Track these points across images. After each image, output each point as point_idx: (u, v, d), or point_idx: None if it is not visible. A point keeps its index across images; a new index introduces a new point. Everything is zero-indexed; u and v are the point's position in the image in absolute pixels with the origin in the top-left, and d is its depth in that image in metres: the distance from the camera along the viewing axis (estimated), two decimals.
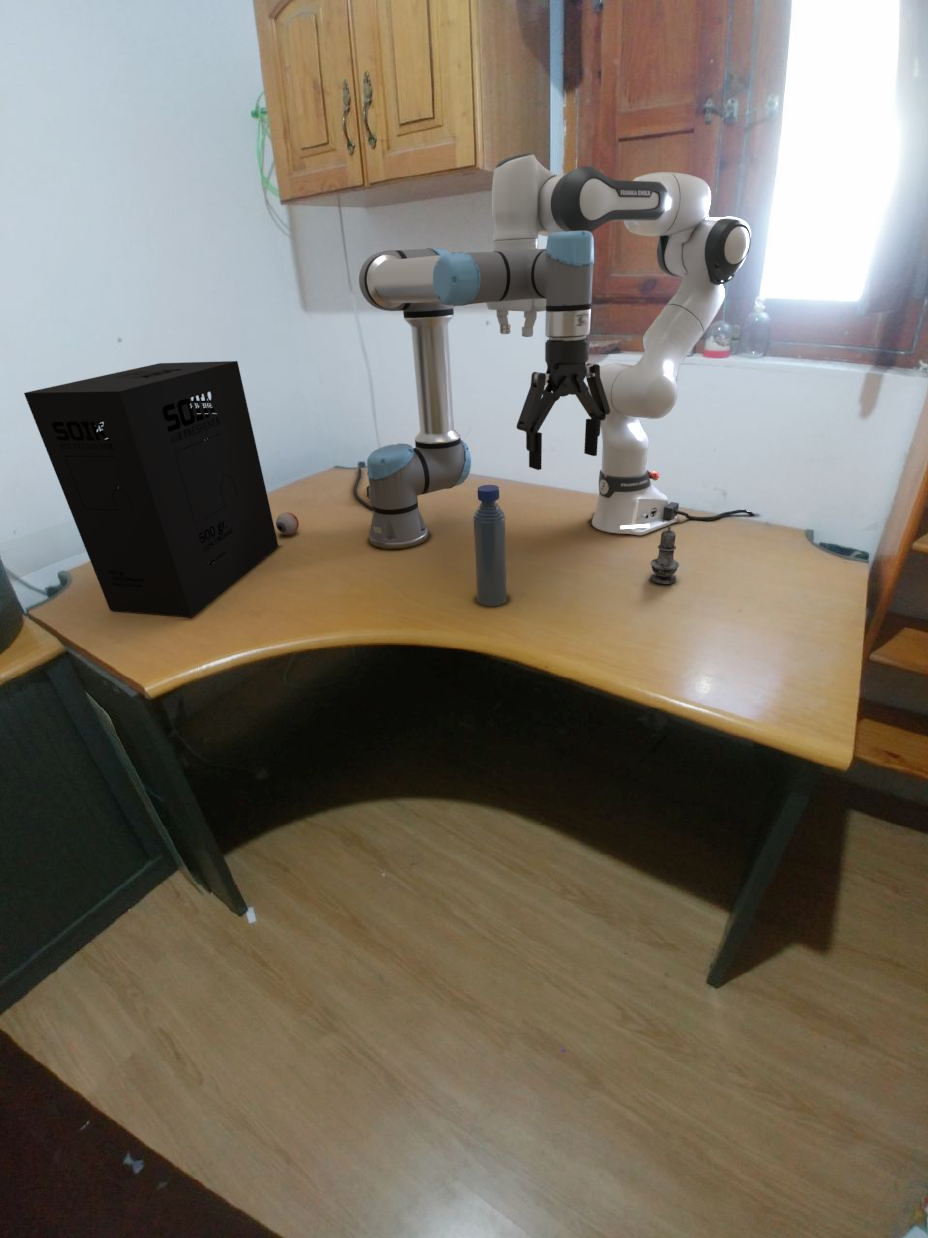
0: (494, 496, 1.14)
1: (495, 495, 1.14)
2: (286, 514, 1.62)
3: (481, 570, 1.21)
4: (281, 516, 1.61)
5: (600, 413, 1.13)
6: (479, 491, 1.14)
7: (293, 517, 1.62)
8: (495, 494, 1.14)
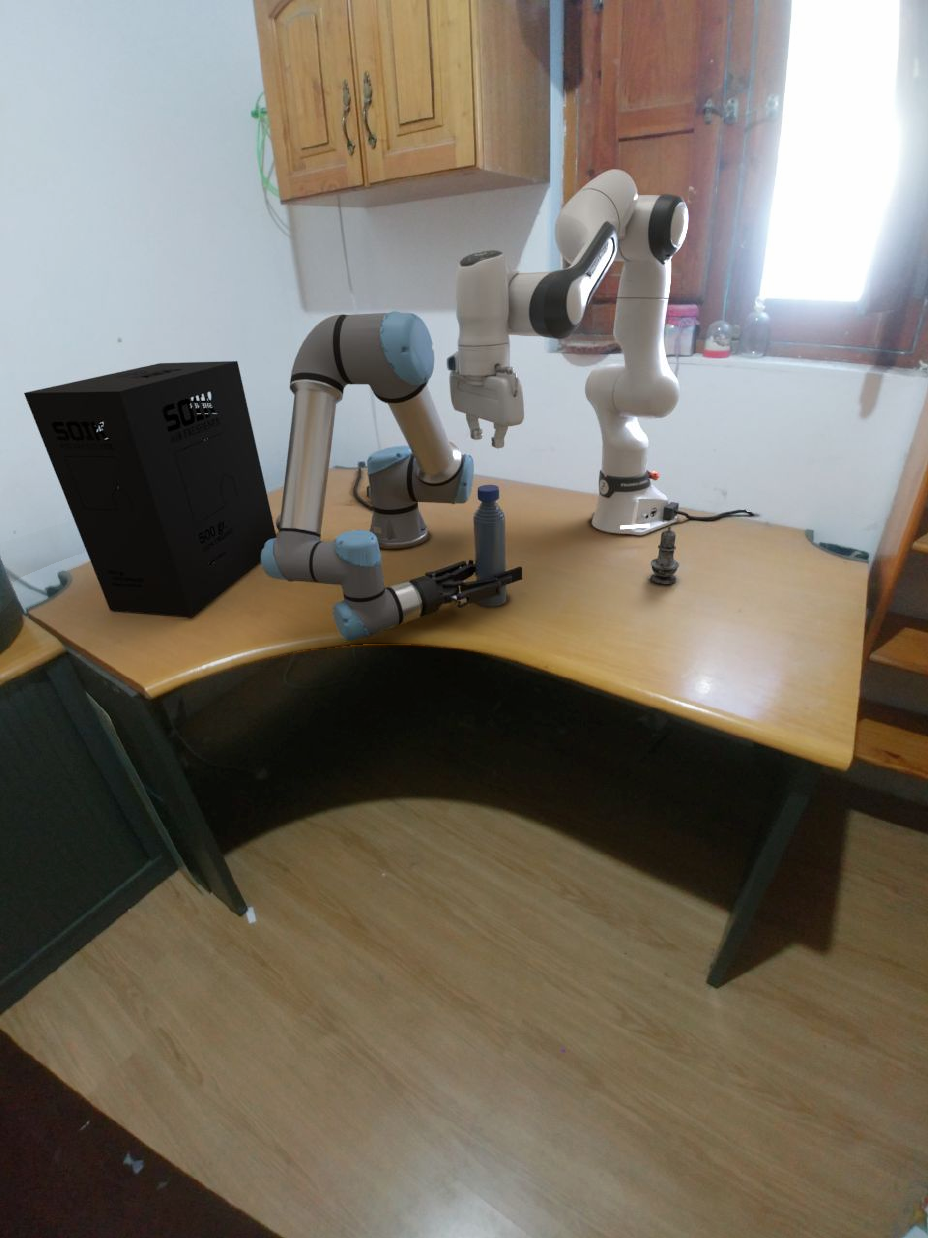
0: (494, 496, 1.14)
1: (495, 495, 1.14)
2: None
3: (481, 570, 1.21)
4: None
5: None
6: (479, 491, 1.14)
7: None
8: (495, 494, 1.14)
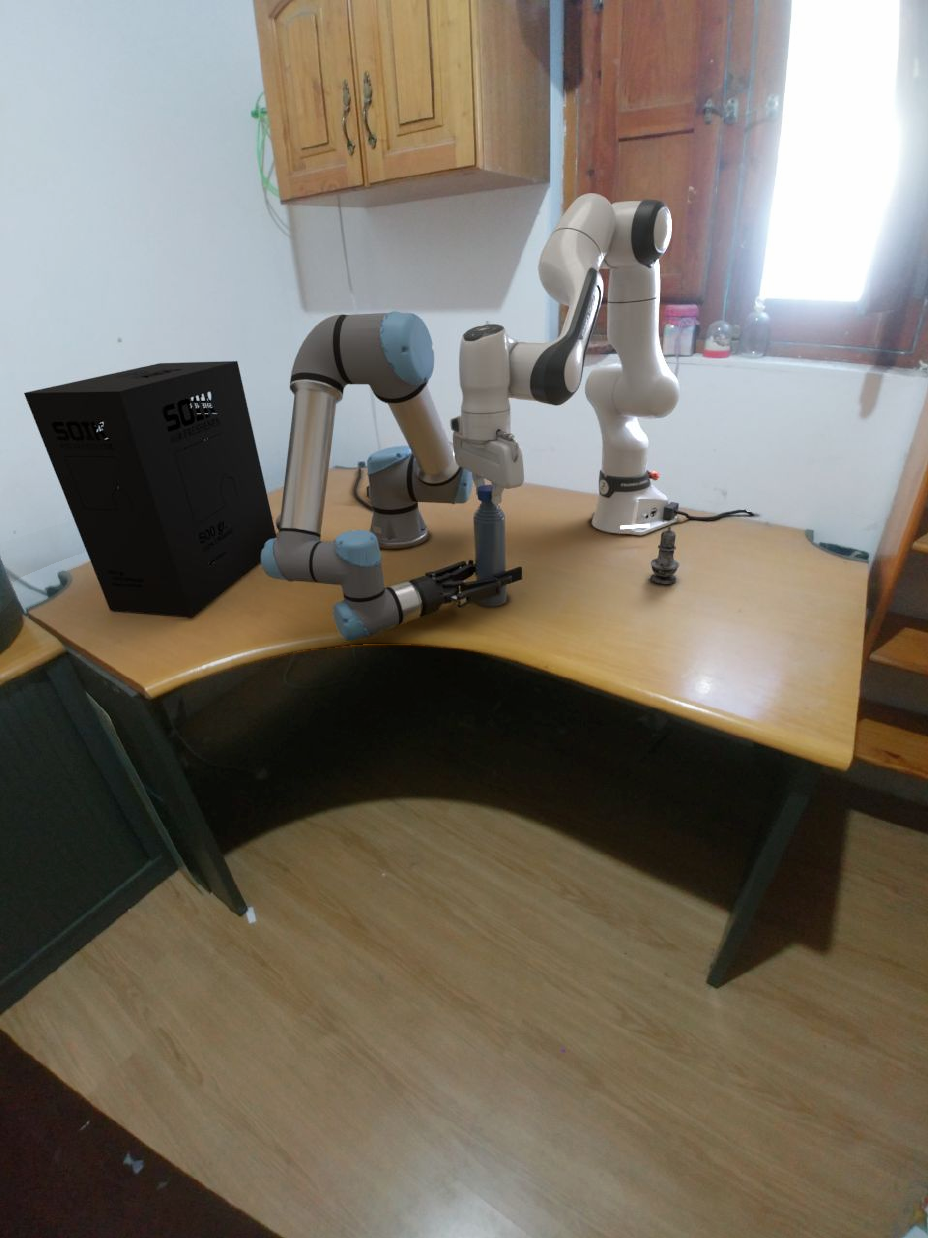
0: None
1: None
2: None
3: (481, 570, 1.21)
4: None
5: None
6: (479, 491, 1.14)
7: None
8: None
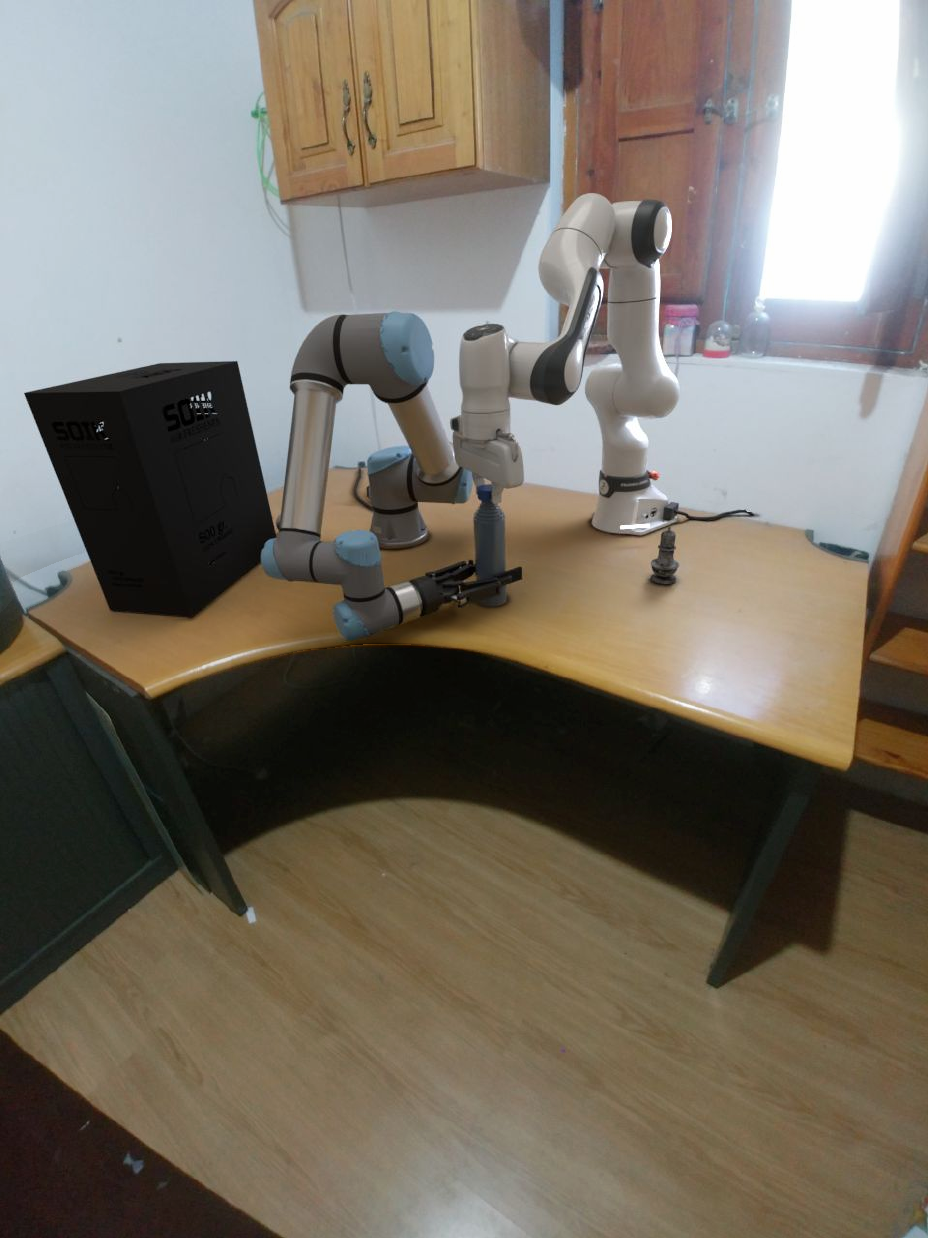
0: None
1: None
2: None
3: (481, 570, 1.21)
4: None
5: None
6: None
7: None
8: None
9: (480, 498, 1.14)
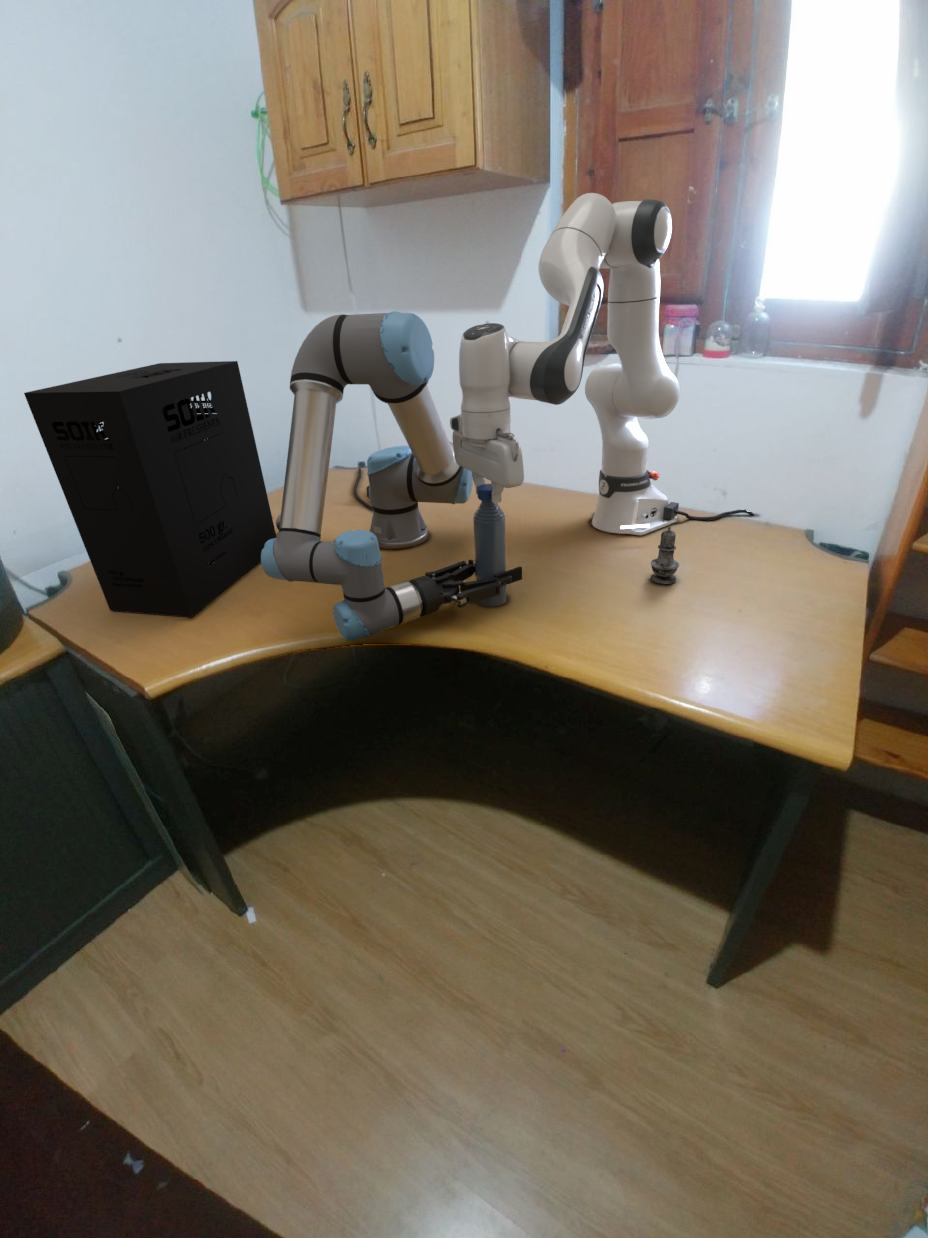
0: None
1: None
2: None
3: (481, 570, 1.21)
4: None
5: None
6: None
7: None
8: None
9: None
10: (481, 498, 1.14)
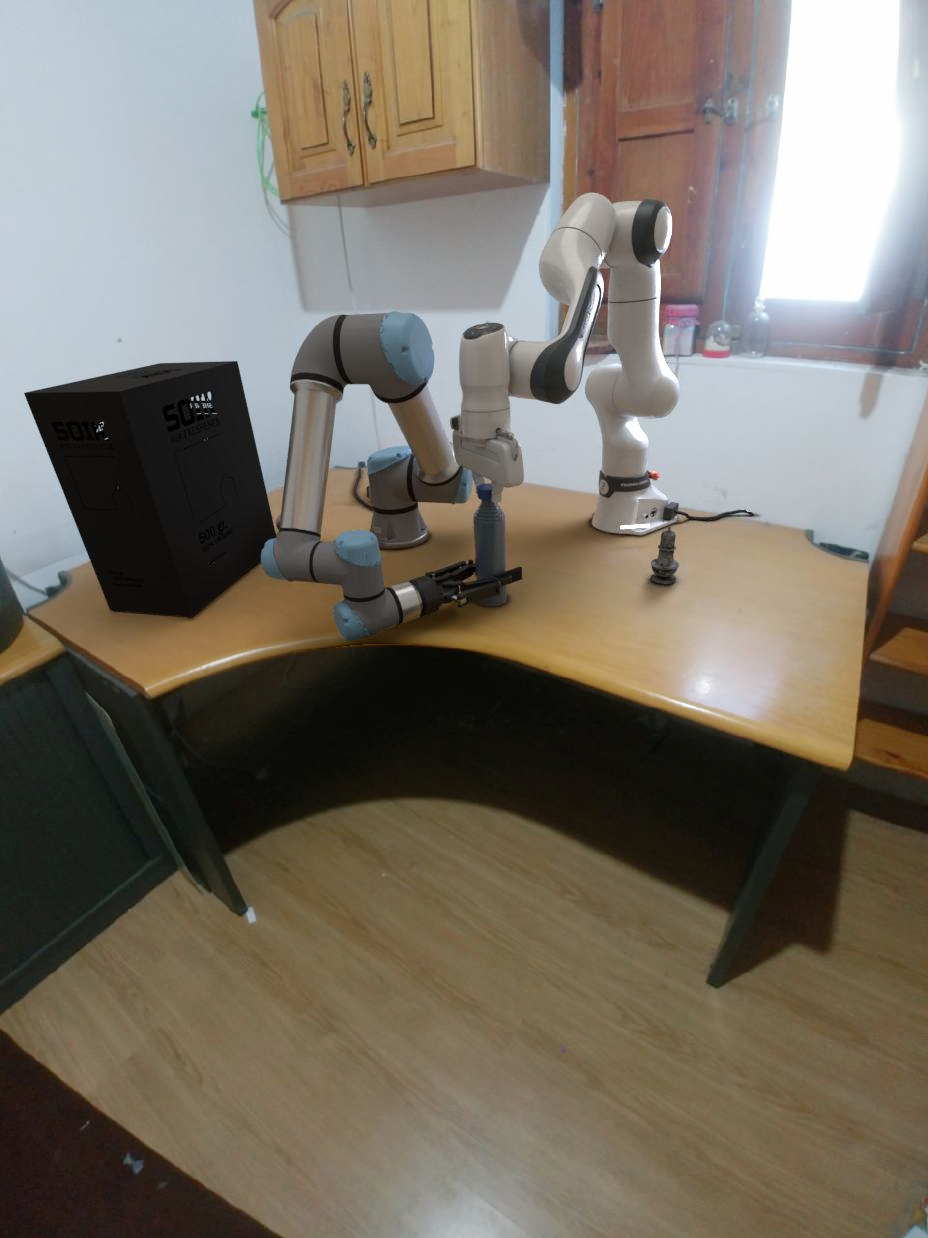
0: (478, 493, 1.15)
1: (478, 493, 1.15)
2: None
3: (481, 570, 1.21)
4: None
5: None
6: None
7: None
8: (478, 491, 1.15)
9: None
10: None
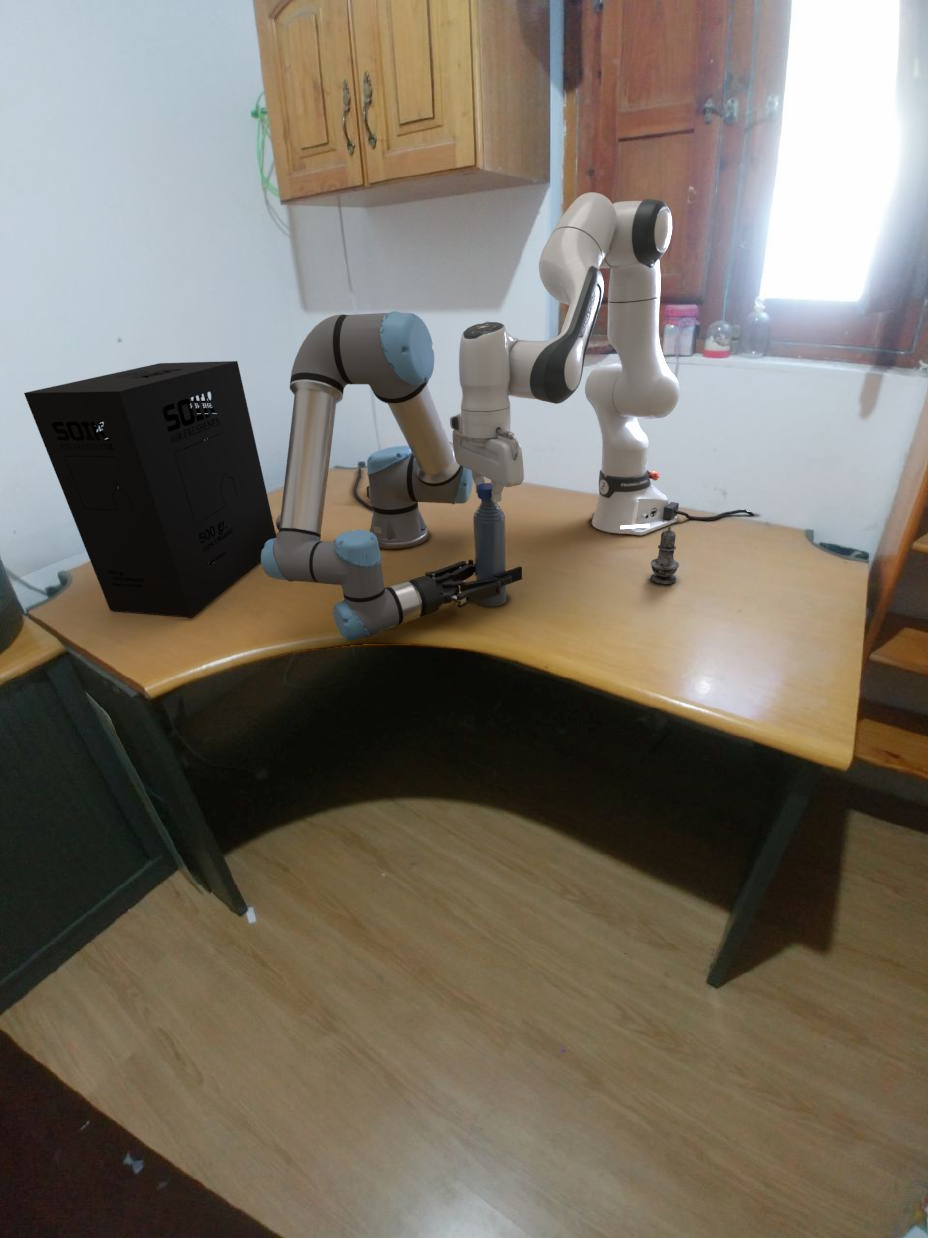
0: (488, 495, 1.13)
1: None
2: None
3: (481, 570, 1.21)
4: None
5: None
6: None
7: None
8: (488, 493, 1.13)
9: None
10: None
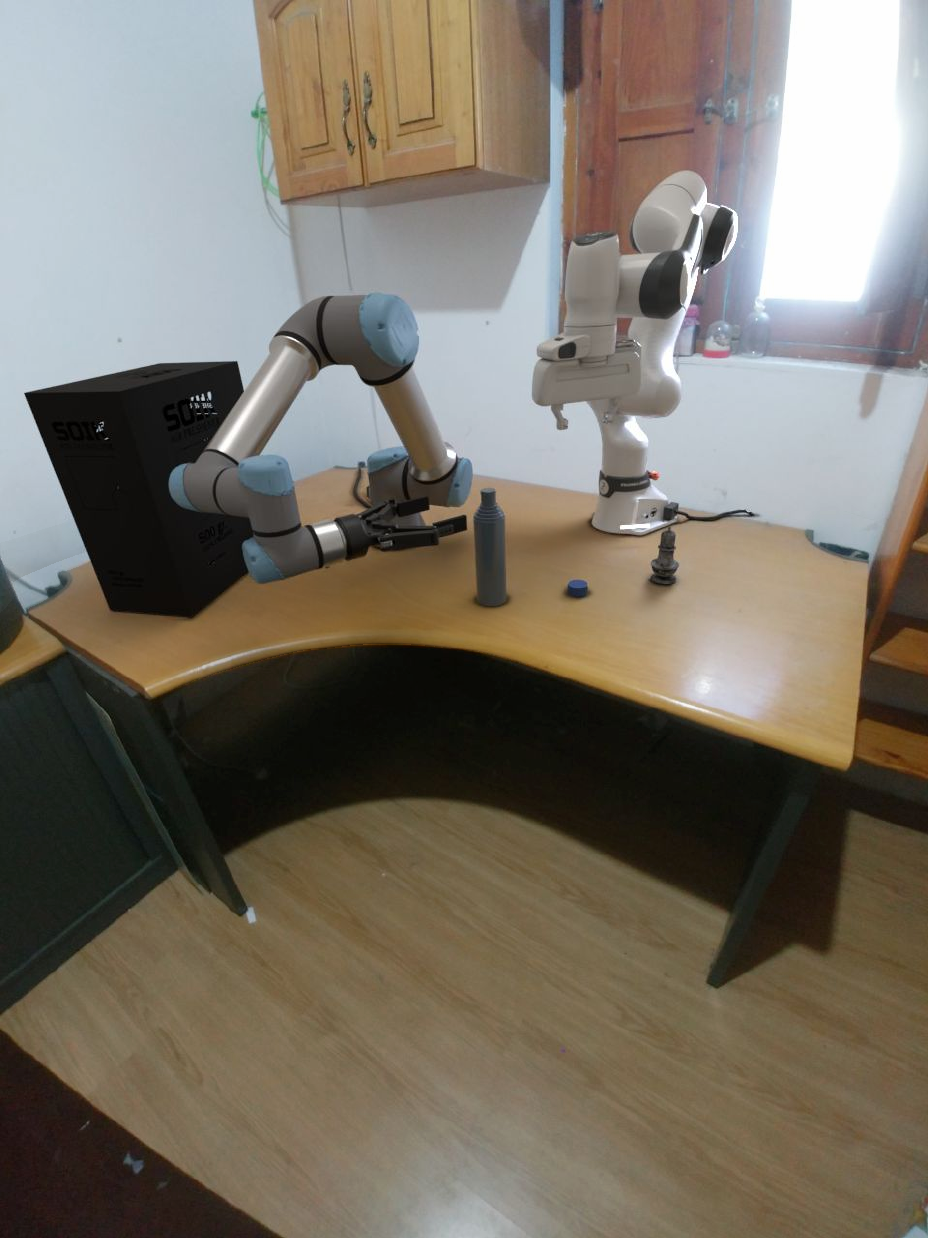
0: (587, 589, 1.27)
1: None
2: None
3: (481, 570, 1.21)
4: None
5: None
6: (576, 589, 1.25)
7: None
8: (587, 587, 1.27)
9: (568, 591, 1.27)
10: None
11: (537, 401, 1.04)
